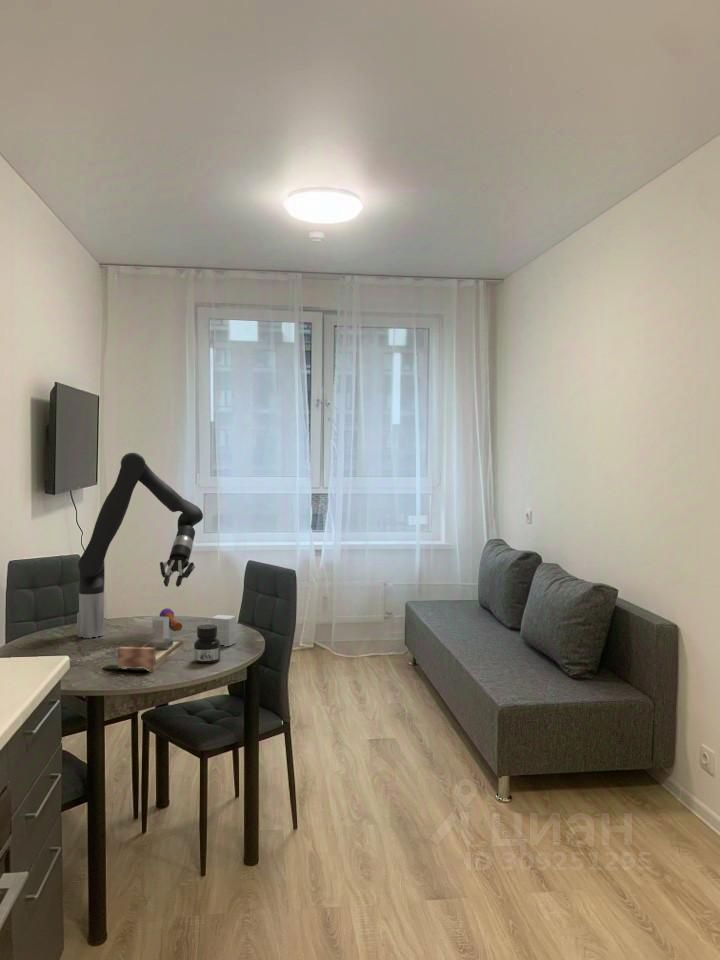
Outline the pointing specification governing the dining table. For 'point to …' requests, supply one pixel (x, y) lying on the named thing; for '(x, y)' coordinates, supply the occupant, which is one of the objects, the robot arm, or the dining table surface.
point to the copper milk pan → (146, 656)
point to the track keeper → (161, 634)
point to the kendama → (171, 618)
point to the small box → (225, 629)
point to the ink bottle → (207, 645)
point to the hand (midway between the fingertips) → (171, 585)
